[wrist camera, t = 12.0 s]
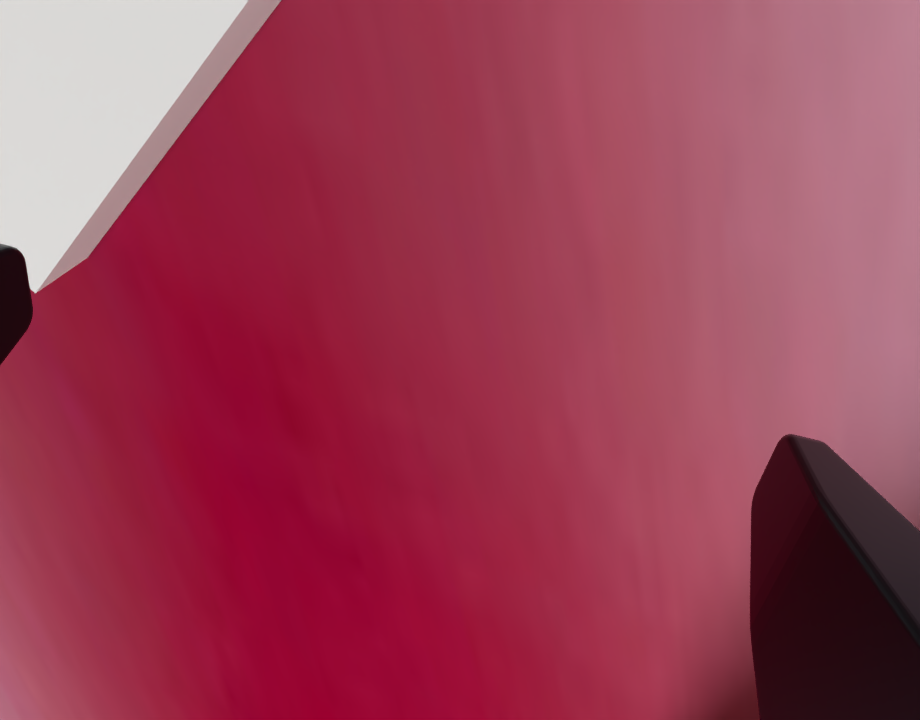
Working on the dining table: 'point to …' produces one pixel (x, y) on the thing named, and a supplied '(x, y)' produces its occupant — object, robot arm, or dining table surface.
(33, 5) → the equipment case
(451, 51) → the dining table surface
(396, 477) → the dining table surface
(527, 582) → the dining table surface
